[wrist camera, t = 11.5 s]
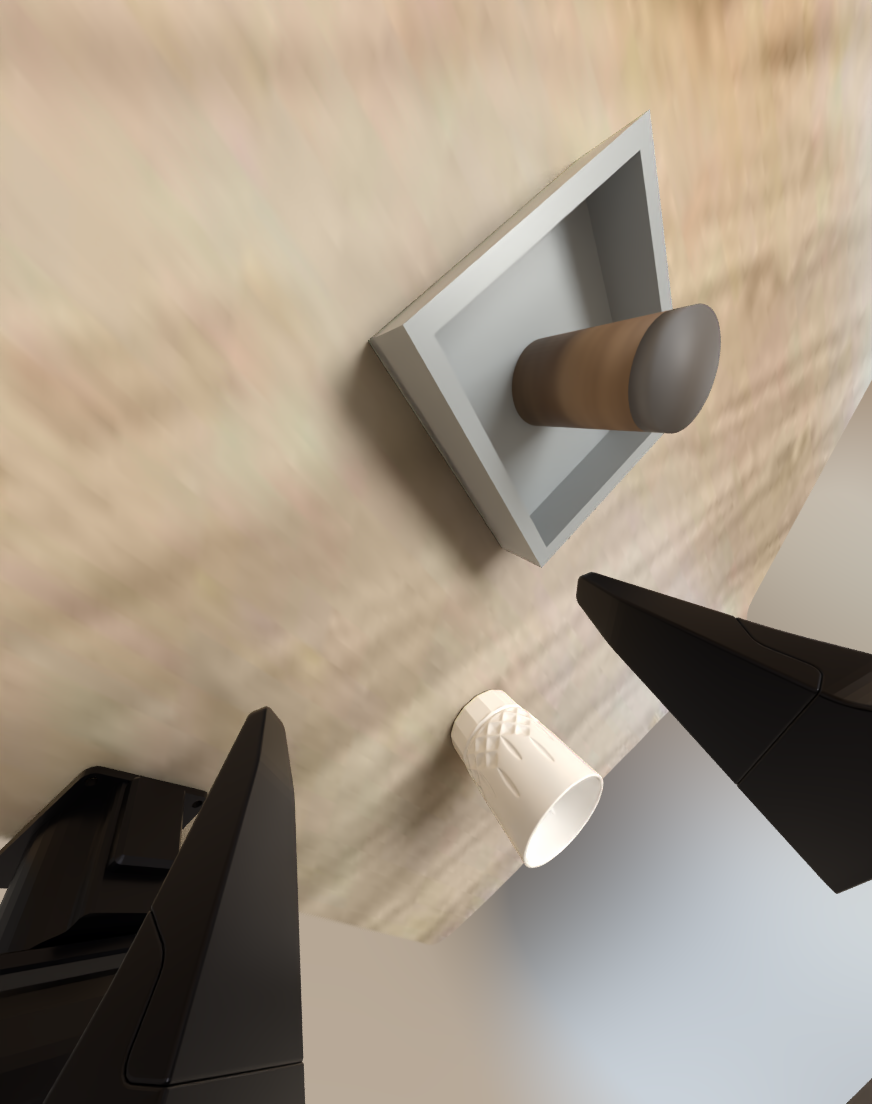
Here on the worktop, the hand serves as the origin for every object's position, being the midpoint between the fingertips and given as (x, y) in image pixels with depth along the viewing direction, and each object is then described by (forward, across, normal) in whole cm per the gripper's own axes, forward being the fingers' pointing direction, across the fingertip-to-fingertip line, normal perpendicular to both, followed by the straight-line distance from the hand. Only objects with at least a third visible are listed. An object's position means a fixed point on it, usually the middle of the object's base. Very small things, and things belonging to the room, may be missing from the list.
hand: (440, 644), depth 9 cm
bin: (+15, -13, -2) cm, 20 cm away
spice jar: (+14, -13, -2) cm, 19 cm away
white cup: (+10, -4, +24) cm, 27 cm away
